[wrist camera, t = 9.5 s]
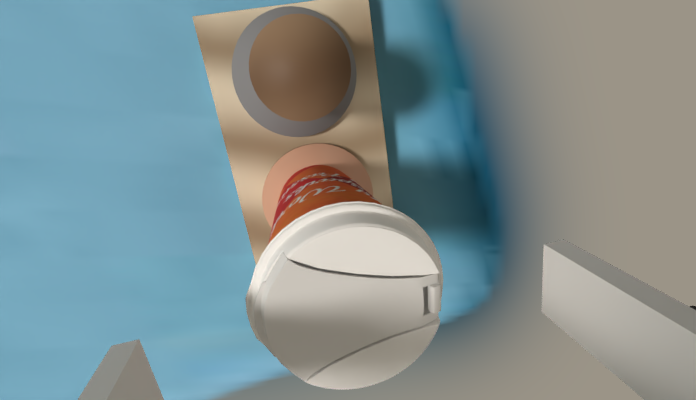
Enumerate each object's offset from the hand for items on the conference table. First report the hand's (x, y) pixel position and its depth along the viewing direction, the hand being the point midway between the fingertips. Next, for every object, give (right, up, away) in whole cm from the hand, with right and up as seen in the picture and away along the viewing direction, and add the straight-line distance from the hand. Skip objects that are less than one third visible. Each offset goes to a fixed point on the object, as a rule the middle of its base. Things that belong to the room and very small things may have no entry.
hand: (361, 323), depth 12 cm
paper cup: (-3, +4, +15) cm, 15 cm away
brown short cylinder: (-4, +12, +12) cm, 17 cm away
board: (-3, +9, +15) cm, 17 cm away
